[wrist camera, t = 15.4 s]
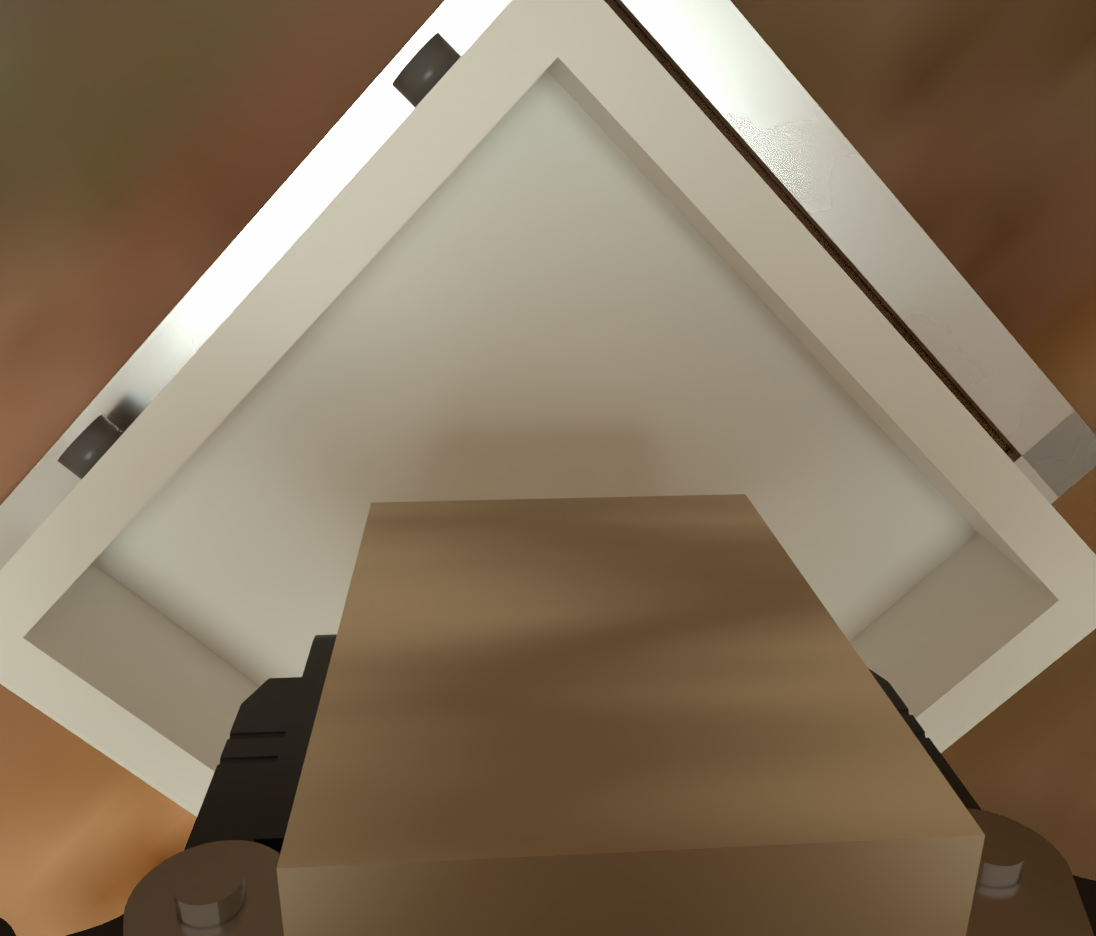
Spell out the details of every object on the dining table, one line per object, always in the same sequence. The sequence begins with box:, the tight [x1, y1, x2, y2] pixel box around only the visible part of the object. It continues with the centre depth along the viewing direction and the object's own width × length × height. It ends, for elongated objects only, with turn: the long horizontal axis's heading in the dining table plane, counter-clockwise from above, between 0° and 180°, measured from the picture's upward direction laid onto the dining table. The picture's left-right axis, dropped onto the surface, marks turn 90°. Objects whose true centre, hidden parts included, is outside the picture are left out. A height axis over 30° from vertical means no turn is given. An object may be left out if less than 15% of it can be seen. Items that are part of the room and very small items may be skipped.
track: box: [0, 0, 1096, 570], centre depth 19 cm, size 25×14×1 cm, turn 135°
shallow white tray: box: [0, 0, 1096, 817], centre depth 16 cm, size 12×13×4 cm
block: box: [276, 494, 985, 936], centre depth 10 cm, size 4×4×6 cm
